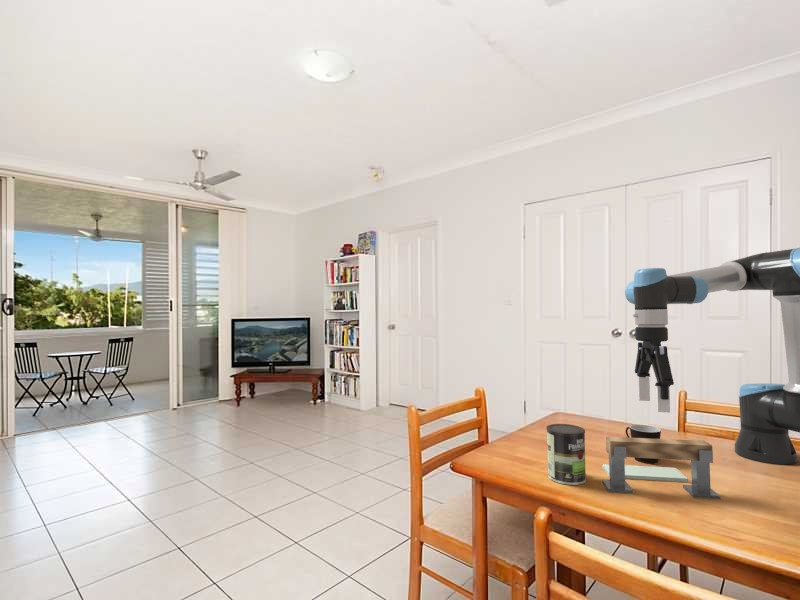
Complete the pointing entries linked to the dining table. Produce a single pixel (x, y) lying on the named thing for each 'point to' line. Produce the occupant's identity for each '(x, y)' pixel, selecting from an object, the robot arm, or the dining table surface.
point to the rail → (658, 448)
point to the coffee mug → (644, 432)
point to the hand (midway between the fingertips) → (653, 406)
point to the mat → (651, 473)
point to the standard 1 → (617, 472)
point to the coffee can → (566, 454)
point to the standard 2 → (701, 476)
